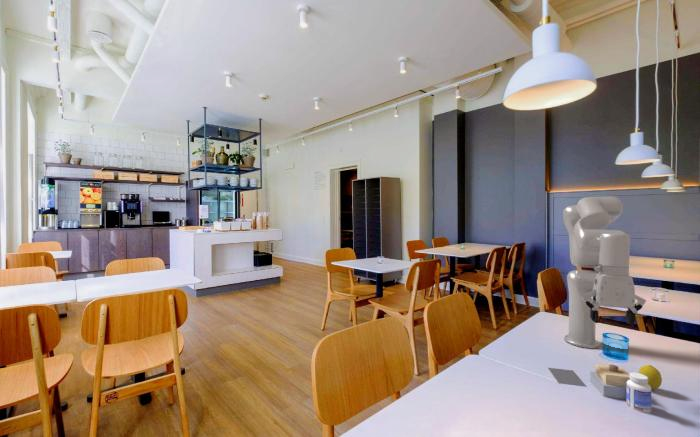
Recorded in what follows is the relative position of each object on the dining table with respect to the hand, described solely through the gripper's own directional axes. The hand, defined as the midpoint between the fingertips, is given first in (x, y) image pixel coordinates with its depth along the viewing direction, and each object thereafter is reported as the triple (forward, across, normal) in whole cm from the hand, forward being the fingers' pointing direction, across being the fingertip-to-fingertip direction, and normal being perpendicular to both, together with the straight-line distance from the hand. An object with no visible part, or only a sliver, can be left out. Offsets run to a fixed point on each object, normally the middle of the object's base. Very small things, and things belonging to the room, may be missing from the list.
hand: (612, 322), depth 105 cm
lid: (+17, -1, -4) cm, 17 cm away
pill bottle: (+21, +2, -12) cm, 24 cm away
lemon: (+21, +11, +1) cm, 24 cm away
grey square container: (+21, -1, -4) cm, 21 cm away
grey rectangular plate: (+21, -12, +2) cm, 24 cm away
